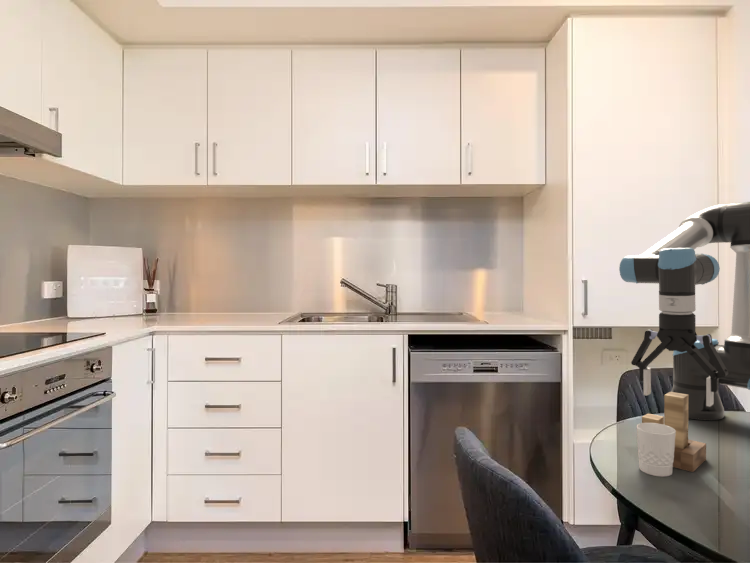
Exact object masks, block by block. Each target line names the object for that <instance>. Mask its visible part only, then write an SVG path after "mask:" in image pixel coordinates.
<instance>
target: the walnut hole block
mask: <svg viewBox="0 0 750 563" xmlns="http://www.w3.org/2000/svg"><path fill="white" fill-rule="evenodd" d="M706 460H707V443H705V442H701V441H698V440H697V441H696V440H693V439H689V438H688V447H686V448H685V449H682V448H677V447H675V451H674V462H673V468H676V469H680V470H683V471H686V472H687V471H688V472H691V473H694V472H695V471H696V470H697V469H698V468H699V467H701V465H702V464H703V463H704V462H705V461H706Z"/></svg>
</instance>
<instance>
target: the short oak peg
mask: <svg viewBox="0 0 750 563" xmlns="http://www.w3.org/2000/svg"><path fill="white" fill-rule="evenodd" d="M641 423H658V424H663V425H664V416H662V415H658V414H652V413H646V414H644V415H643V416H641Z"/></svg>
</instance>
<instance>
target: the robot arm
mask: <svg viewBox="0 0 750 563" xmlns="http://www.w3.org/2000/svg"><path fill="white" fill-rule="evenodd" d="M712 243H713V244H714V243H715V244H717V243H723V244H724V243H725V244H726V243H730V247H729V248H730V249H731V250H733V252H735V267H734V283H733V284H734V285H733V286H734V287H733V300H732V302H733V304H732V317H731V332H730V335H729V336H727V337H726V338H724V343H723V344H719V342H720V341H719V340H718V339H717V338H713V336H712V334H710V333H707V334H702V335H701V334H697V333H696V332H697V331H696V314H695V313H694V312H696V286H697V285H703V286H704V285H705V284H708V283H711V282H713V281H714V280H716V278H717V277H718V275H719V273H720V264H719V262H718V260H717V259H716V257H713V256H712V255H709V254H705V253H696V251H695V249H698V248H702V247H705V246H707V245H709V244H712ZM618 267H619V269H618V270H619V275H620V278H621V279H622V280H623V281H624V282H625V283H633V284H658V310H659V311H660V312H659V314H658V328H659V329H658V331H657V330H653V329H646V330H644V336H643V340H642V343H641V344H640V346H639V348H638V349H637V351H636V352H635V355H634V356H633V358H632V359H631V362H630V363H631V365H632V366H635V367H638V368H639V381H640V382H642V383H643V396H647V397H648V396H649V395H651V394H652V368H651V367H649V365H650V364H651V363H652V362H653V361H655V359H656V358H657V357H658V356H660V354H662V352H663V351H665V350H667V351H669V352H673V354H672V359H673V361H672V363H673V364H672V367H673V368H672V369H673V370H672V372H673V375H672V378H673V381H672V384H673V386H672V388H671V391H670V392H675V393H681V394H687V395H689V396H688V419H691V420H698V421H699V420H700V421H718V420H721V419H724V418H725V408H724V406H723V403H722V400H721V397H720V393H719V388H720V387H719V385H723V386H730V387H735V388H741V389H747V390H749V391H750V201H745V202H735V203H733V202H732V203H723V204H721V203H720V204H716V205H713V206H709V207H706V208H704V209H702V210H698V211H697V212H695V213H694V214H691V215H690V216H688V217H686V218H685V219H684V220H682V221H681V222H680V224H679V226H678V228H677V229H676V230H674V231H672V232H671V233H669V234H668V235H667V236H666V237H664V238H662V239H661V240H660V241H658V242H657V243H655V244H653V246H651V247H650V248H648V249H646V250H645V251H644V252H643V253H641V254H639V255H638V254H632V255H626V256H624V257H623V258H622V259H621V261H620V263H619V266H618ZM656 337H657V339H658V340H659V341H660V342H661V343H660V344H658V345H657V347H655V349H653V351H652V352H650V354H649V355H647V356H646V358H644V355H645V354H646V353H647V350H648V349H649V347H650V345H651V343H652V341H653V340H655V339H656ZM643 358H644V360H643Z"/></svg>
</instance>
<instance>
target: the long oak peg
mask: <svg viewBox="0 0 750 563" xmlns="http://www.w3.org/2000/svg"><path fill="white" fill-rule="evenodd" d="M688 396H689V395H687V394H681V393H675V392H671V391H669V392H667V393H666V394H664V396H663V397H664V398H663V399H664V400H663V401H664V403H663V404H664V411H663V412H664V416H663V417H664V425H667V426H670V427H672V428H674V429H675V430H676V434H675V447H677V448H682V449H685V448H686V447H688V439H689V418H688Z"/></svg>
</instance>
